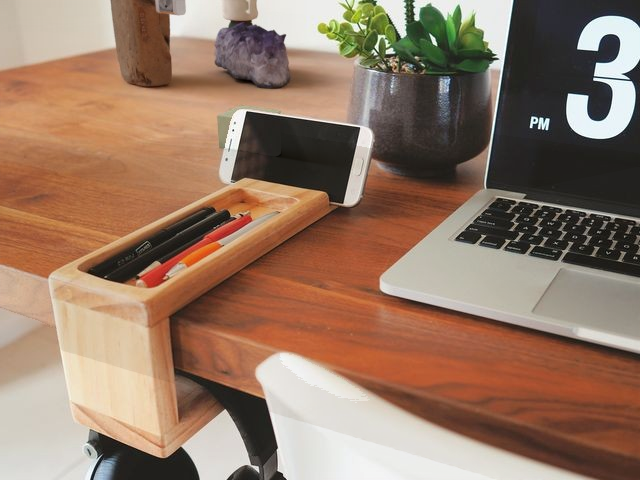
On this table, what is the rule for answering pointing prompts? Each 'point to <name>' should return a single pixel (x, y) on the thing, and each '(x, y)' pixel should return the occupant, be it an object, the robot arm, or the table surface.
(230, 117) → the cube
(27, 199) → the table surface
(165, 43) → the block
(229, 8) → the character mug
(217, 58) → the geode
